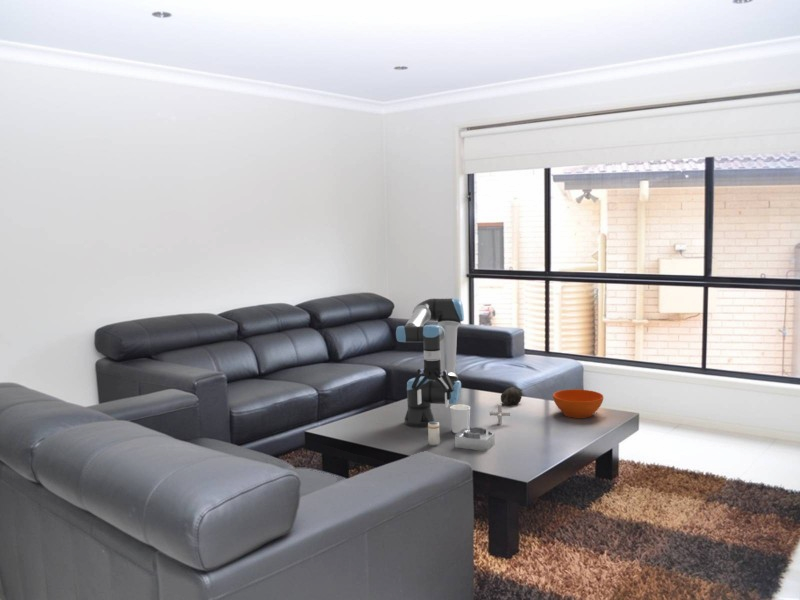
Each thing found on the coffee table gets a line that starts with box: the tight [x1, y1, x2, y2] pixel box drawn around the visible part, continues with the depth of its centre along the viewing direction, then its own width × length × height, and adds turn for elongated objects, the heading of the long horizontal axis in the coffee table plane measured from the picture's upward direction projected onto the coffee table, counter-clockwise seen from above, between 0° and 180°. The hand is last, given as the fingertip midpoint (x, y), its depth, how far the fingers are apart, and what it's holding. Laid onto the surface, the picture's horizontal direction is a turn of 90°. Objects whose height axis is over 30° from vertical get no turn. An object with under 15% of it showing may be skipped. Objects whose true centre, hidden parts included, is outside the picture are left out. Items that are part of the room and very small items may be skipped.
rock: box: [500, 386, 523, 406], centre depth 395 cm, size 10×11×10 cm
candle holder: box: [449, 403, 471, 434], centre depth 349 cm, size 10×10×12 cm
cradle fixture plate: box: [454, 426, 496, 452], centre depth 327 cm, size 15×11×7 cm
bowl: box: [552, 388, 604, 419], centre depth 371 cm, size 25×25×10 cm
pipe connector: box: [489, 403, 511, 425], centre depth 359 cm, size 10×10×10 cm
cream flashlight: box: [426, 421, 442, 447], centre depth 330 cm, size 5×5×10 cm
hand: (433, 405), depth 328 cm, fingers open, 13 cm apart
